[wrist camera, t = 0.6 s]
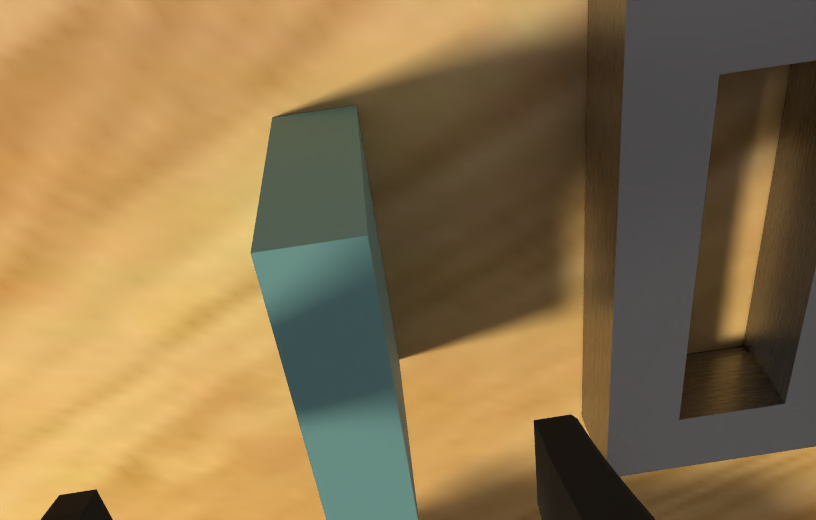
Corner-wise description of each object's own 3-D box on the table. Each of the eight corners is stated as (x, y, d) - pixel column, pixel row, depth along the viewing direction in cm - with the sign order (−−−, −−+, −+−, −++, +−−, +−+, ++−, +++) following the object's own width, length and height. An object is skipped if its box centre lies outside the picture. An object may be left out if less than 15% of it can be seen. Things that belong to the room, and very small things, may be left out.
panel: (398, 358, 22) (419, 530, 17) (331, 368, 22) (333, 543, 17) (356, 103, 18) (367, 235, 13) (272, 116, 18) (250, 252, 13)
